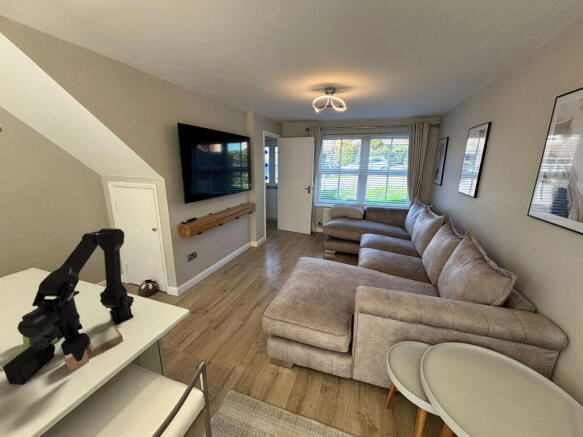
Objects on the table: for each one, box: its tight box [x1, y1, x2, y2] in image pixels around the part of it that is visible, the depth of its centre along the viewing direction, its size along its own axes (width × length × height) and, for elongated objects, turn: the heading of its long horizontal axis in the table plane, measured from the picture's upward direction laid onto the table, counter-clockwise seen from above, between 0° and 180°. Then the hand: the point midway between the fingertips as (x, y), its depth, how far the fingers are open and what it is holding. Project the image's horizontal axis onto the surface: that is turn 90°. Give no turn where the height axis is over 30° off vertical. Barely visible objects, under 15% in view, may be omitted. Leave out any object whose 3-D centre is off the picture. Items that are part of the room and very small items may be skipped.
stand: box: [87, 323, 124, 357], centre depth 88 cm, size 9×9×3 cm
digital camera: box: [2, 344, 56, 386], centre depth 76 cm, size 10×5×7 cm, turn 0°
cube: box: [62, 349, 90, 372], centre depth 80 cm, size 5×5×5 cm
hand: (75, 353), depth 79 cm, fingers open, 9 cm apart
